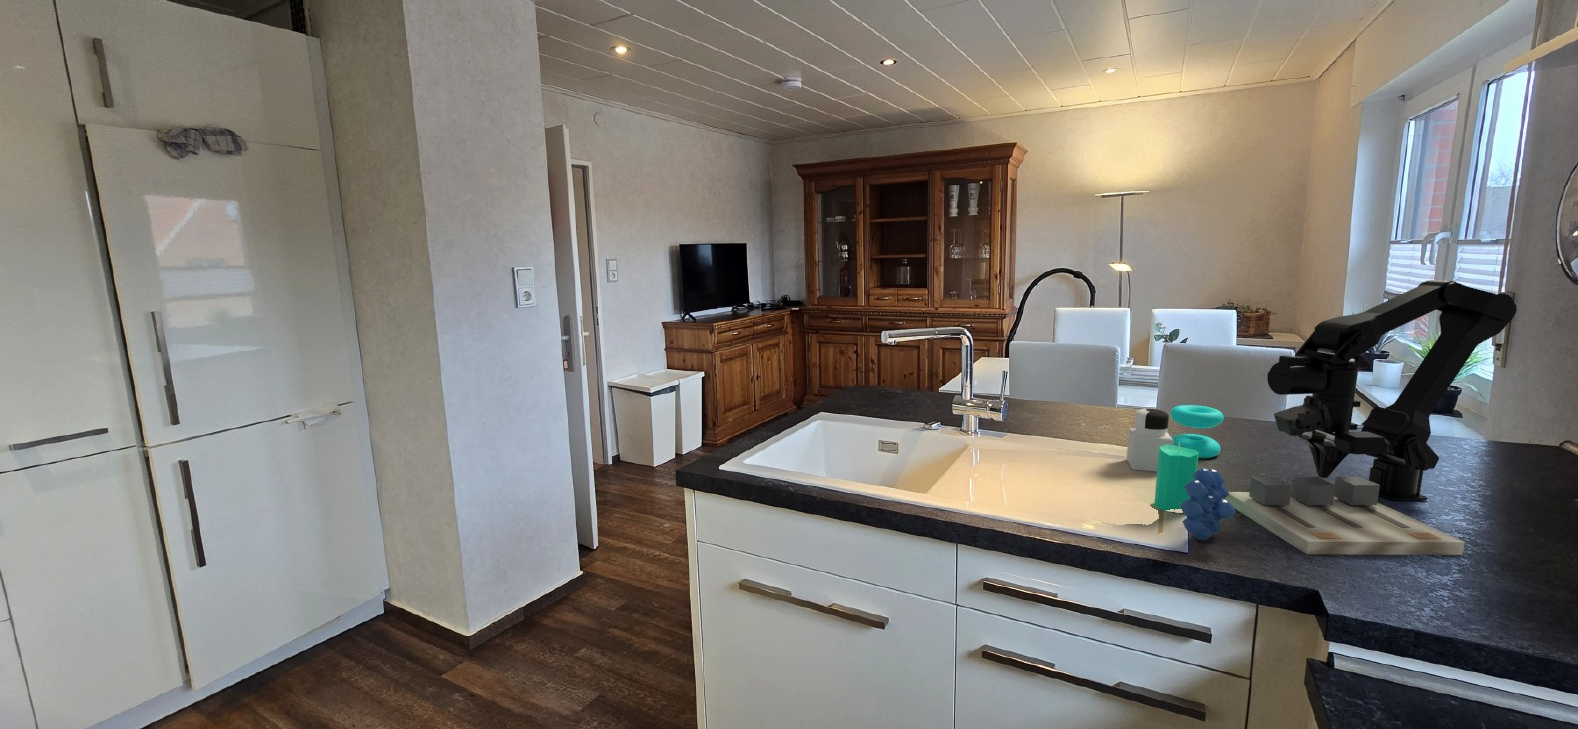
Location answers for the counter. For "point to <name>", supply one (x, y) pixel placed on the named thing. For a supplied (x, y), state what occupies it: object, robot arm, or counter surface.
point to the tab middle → (1313, 490)
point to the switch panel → (1347, 528)
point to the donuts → (1197, 419)
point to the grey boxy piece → (1356, 491)
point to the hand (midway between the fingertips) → (1322, 477)
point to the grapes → (1206, 504)
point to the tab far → (1270, 491)
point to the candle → (1174, 475)
